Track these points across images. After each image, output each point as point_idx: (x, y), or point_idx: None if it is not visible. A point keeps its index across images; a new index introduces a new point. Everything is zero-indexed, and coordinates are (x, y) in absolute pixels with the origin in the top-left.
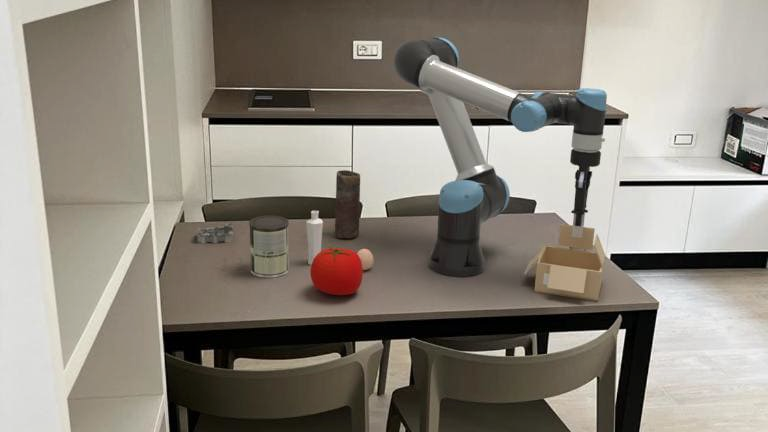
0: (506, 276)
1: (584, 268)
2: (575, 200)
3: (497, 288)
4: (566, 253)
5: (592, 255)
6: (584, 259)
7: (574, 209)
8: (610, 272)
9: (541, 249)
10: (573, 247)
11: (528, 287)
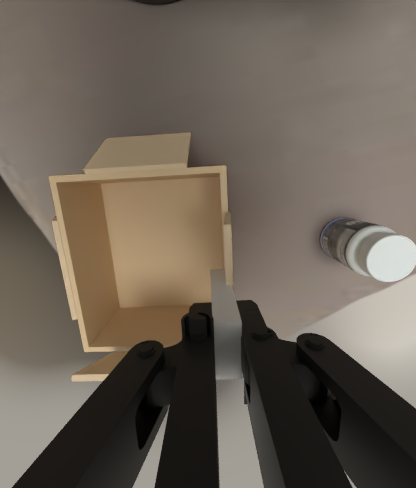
0: (155, 86)
1: None
2: (50, 451)
3: (67, 86)
4: (222, 238)
5: None
6: None
7: (121, 364)
8: (292, 315)
9: (169, 164)
10: (343, 236)
11: None
